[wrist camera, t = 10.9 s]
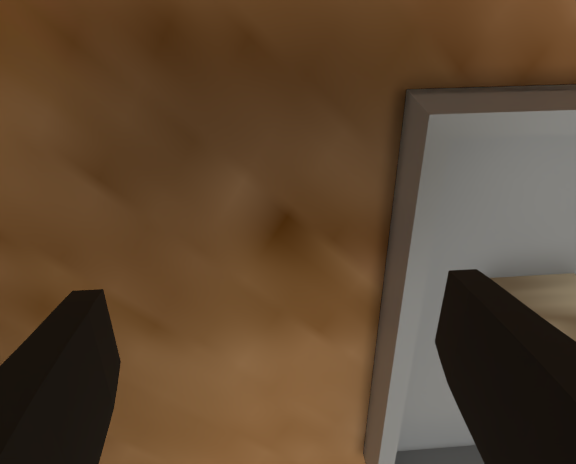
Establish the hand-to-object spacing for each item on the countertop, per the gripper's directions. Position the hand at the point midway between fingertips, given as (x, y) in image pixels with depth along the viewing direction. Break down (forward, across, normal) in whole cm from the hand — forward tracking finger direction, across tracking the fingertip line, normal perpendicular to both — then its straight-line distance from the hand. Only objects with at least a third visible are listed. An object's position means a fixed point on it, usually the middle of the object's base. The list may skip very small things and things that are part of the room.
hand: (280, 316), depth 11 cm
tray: (+9, -11, +8) cm, 16 cm away
